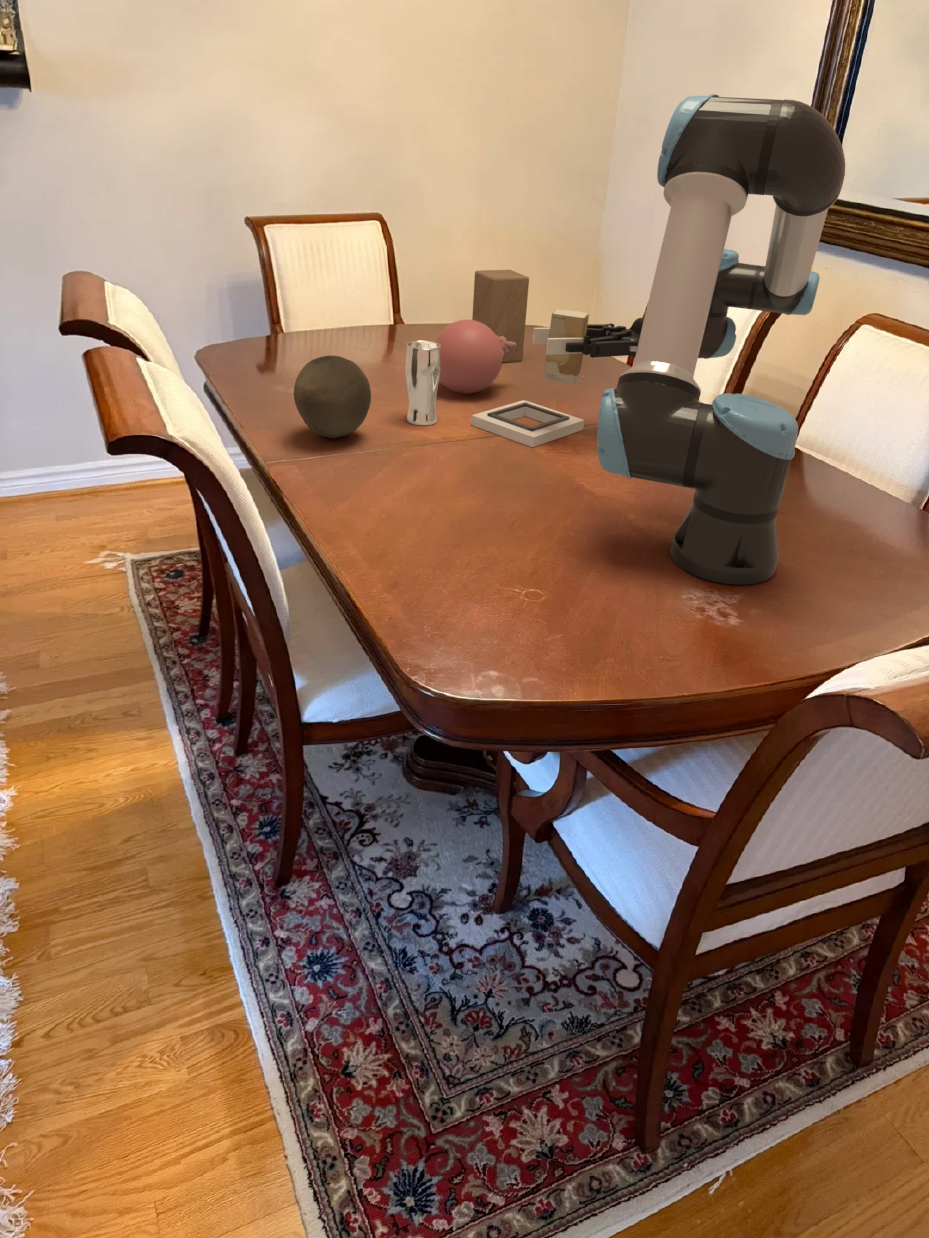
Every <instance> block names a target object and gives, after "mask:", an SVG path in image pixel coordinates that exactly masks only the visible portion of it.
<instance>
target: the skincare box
mask: <svg viewBox="0 0 929 1238" xmlns="http://www.w3.org/2000/svg"><path fill="white" fill-rule="evenodd" d="M550 318H551V319H550V327H549V328H550V333H549V338H583V342H584V337H585V335H586V332H587V325H588V324H589V319H590V313H588V312H584V311H576V310H569V309H561V308H556V309H555V310H554V311H553V312H552V313H551V317H550ZM583 357H584V354H583V352H581V354H554V355H547V354H546V357H545V358H546V359H545V364H544V365H545V366H544V376H543V380H545V381H551V382H558V383H564V384H570V385H576V384H577V383H578V381H579V380H580V377H581V370H582V364H583Z"/></svg>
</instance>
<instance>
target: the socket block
mask: <svg viewBox="0 0 929 1238" xmlns="http://www.w3.org/2000/svg"><path fill="white" fill-rule="evenodd" d="M521 417H526V418H530V419H533V420H535V421H537V422H541V423H540V424H537V425H535V426H534V425H533V426H529V425H528V424H527V425H526V424H524V423H521V422H518V421H515V420H516V419H519V418H521ZM470 422H471V423H470V424H471V426H472V427H476V428H478V429H481V430H484V431H487V432H490V433H492V434H494V435H497V436H500V437H503V438H505V439H509V440H512V441H514V442H517V443H519V444H522V445H525V446H528V447H531V448H535V447H537V446H541V445H543V444H546V443H549V442H551V441H555V440H558V439H560V438H563V437H566V436H569V435H571V434H572V435H573V434H575V433H578V432H581V431H583V430H584V428H585V427H584V426H585V419H583V418H579V417H576V416H573V415H571V414H567V413H564V412H561V411H558V410H555V409H552V408H550V407H545V406H543V405H539V404H536V403H534V402H532V401H528V400H524V399H523V400H519V401H515V402H513V403H509V404H506V405H503V406H499V407H495V408H492V409H488V410H485V411H482V412H479V413H474V414H472V415H471V421H470Z"/></svg>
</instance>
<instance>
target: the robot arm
mask: <svg viewBox="0 0 929 1238" xmlns="http://www.w3.org/2000/svg"><path fill="white" fill-rule="evenodd" d="M662 140H663V141H662V144H661V152H660V154H659V157H658V164H657V173H656V176H657V183H658V184H659V186H660V187H663V197H664V198H663V199H664V200H665V201H666V203H667V204H668V206H669V207H670V209H669V214H668V218H667V221H666V226H665V229H664V235H663V239H662V243H661V246H660V252H659V255H658V260H657V264H656V269H655V272H654V277H653V280H652V284H651V288H650V292H649V293H650V294H649V298H648V301H647V307H646V310H645V313H644V317H639V318H636V319H635V320H634V321H633V322H632V324H631V326H630V328H627V326H624V325H617V326H615V324H614V323H611V322H610V323H606V324H605V323H604V324H601V323H599V324H597V323H596V324H593V323H592V324H591V323H590V324H589V323H588V325H587V332H586V335H585V337H584V342H583V338H549V333H550V327H533V331H532V333H533V335H532V344H534V345H535V344H536V345H537V344H539V345H542V344H544V345H545V344H546V351H545V354H546V356H547V355H554V354H581V352H583V356H584V355H585V356H588V355H589V358H590V357H591V358H592V359H593V358H606V357H622V356H625V357H626V356H632V358H633V359H634V360H633V364H632V366H631V367H630V368H629V369H627V370H625V371H624V372H622V373H621V374H620V375H619V377H618V380H617V384H616V388H614V387H610V388H607V389H605V390H604V391H603V394H602V398H601V400H600V405H599V410H598V411H599V412H598V422H597V437H596V438H597V439H596V440H597V443H596V445H597V448H596V449H597V459H598V462H599V465H600V467H601V468H602V469H603V470H604V471H605V472H607V473H610V474H614V475H618V476H621V477H626V478H628V479H629V480H632V479H638V480H644V481H650V482H656V483H661V484H666V485H672V486H675V487H677V486H678V487H683V488H687V489H688V488H689V489H694V490H695V491H694V495H693V500H692V503H691V506H690V508H689V509H688V511H687V513H686V515H685V516H684V518H683V520H682V521H681V523H680V524H679V526H678V528H677V530H676V531H675V533H674V535H673V538H672V542H671V546H670V550H669V554H670V558H671V560H672V561H673V562H674V563H675V564H676V565H677V566H678V567H680V568H681V569H682V570H684V571H685V572H687V573H689V574H690V575H693V576H695V577H698V578H700V579H703V580H707V581H711V582H713V583H714V582H715V583H718V584H719V583H720V584H725V585H733V586H734V585H738V586H741V585H742V586H743V585H754V584H760V583H763V582H766V581H768V580H769V579H771V578H772V577H773V576H774V574H775V573H776V569H777V566H778V561H779V554H780V553H779V543H778V534H777V533H778V531H777V522H776V521H777V516H778V514H779V513H778V512H779V509H780V505H781V500H782V499H783V498H782V497H783V493H784V489H785V485H786V481H787V477H788V473H789V470H790V466H791V462H792V459H794V457H795V454H796V449H795V448H796V444H797V439H798V433H799V424H798V422H797V420H796V419H795V417H794V415H793V414H792V413H790V412H789V411H788V410H786V409H785V408H783V407H782V406H780V405H777V404H776V403H774V402H771V401H769V400H766V399H763V398H759V397H756V396H752V395H749V394H744V393H743V394H742V393H729V392H727V393H726V392H725V393H721V394H718V395H717V396H715V398H714V399H713V400H712V401H711V402H712V403H711V404H710V403H703V402H699V401H700V397H701V393H702V391H701V387H700V386H699V385H698V383H697V382H696V380H695V379H694V376H695V375H694V374H695V371H696V367H697V363H698V359H704V360H707V359H715V358H720V357H725V356H727V355H728V354H729V353H731V352H732V350H733V348H734V346H735V343H736V340H737V334H736V331H737V326H736V324H735V321H734V319H732V318H731V317H729V316H728V311H729V308H737V309H746V310H755V311H762V312H769V313H776V314H782V315H783V314H784V315H786V316H791V315H793V316H806V315H808V314H810V313H811V311H812V310H813V306H814V303H815V299H816V295H817V291H818V287H819V282H820V277H821V276H820V274H819V273H818V272H816V271H812V268H813V265H814V262H815V257H816V253H817V251H818V246H819V244H820V240H821V236H822V233H823V228H824V225H825V221H826V218H827V215H828V211H829V209H830V208H831V207H832V206H833V205H834V204H835V202H836V201H837V200H838V198H839V196H840V194H841V192H842V189H843V184H844V180H845V175H846V157H845V153H844V147H843V145H842V142H841V141H840V138H839V136H838V134H837V132H836V130H835V129H834V127H833V125H831V123H830V121H828V119H827V118H825V116H824V115H823V114H822V113H821V112H819V110H817V109H816V108H814V107H813V106H811V105H809V104H807V103H805V102H803V101H799V100H795V99H772V98H771V99H768V98H751V97H750V98H749V97H727V96H726V97H725V96H719V95H718V94H717V93H715V94H714V93H713V94H712V93H711V94H709V95H690V96H687V97H685V98H684V99H683V100H681V101H680V103H678V105H677V106H676V108H674V111H673V113H672V115H671V117H670V120H669V123H668V125H667V128H666V131H665V133H664V138H663V139H662ZM749 195H756V196H758V195H759V196H772V198H773V201H774V204H775V209H774V214H773V215H774V216H773V221H772V226H771V233H770V237H769V243H768V249H767V253H766V254H767V255H766V261H765V266H764V265H758V264H751V263H750V264H749V263H741V262H739V258H740V256H739V253H738V252H737V251H736V250H733V249H727V248H725V246H726V242H727V238H728V233H729V230H730V225H731V221H732V217H734V216H735V215H737V214H738V213H739V212H741V211H742V210H743V209H744V208H745V207H746V204H747V200H748V197H749Z"/></svg>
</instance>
